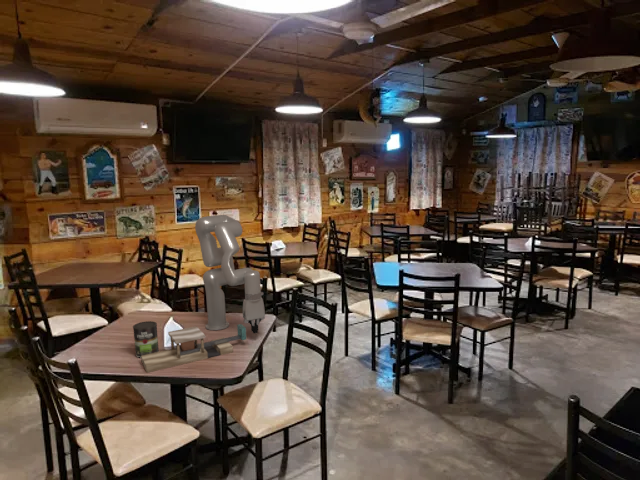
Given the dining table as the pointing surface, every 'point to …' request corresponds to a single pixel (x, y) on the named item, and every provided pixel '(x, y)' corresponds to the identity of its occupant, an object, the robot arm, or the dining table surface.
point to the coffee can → (145, 338)
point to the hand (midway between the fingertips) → (255, 332)
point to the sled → (240, 335)
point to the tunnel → (173, 356)
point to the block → (187, 345)
